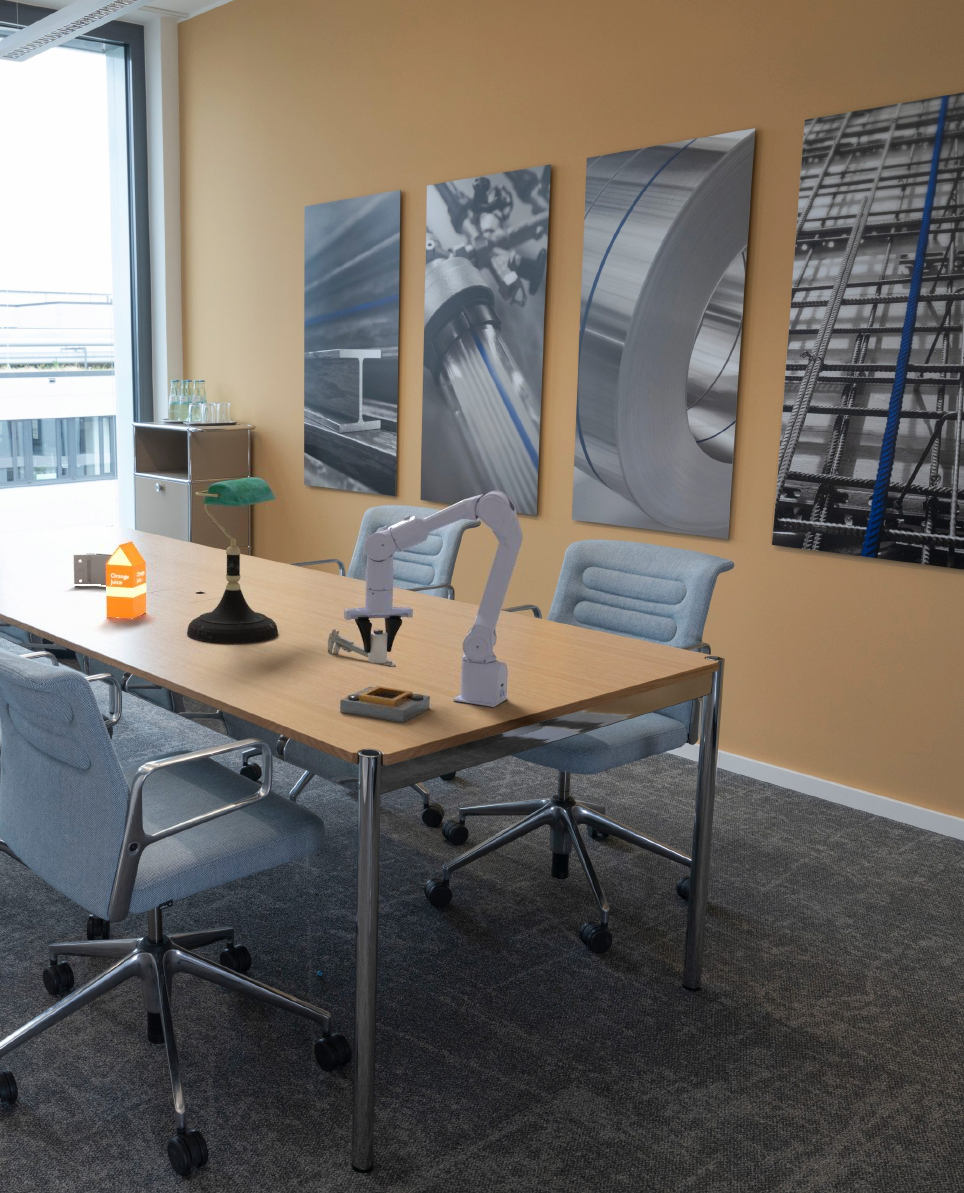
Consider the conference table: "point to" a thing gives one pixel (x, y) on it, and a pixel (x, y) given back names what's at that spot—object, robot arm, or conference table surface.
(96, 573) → the hinge
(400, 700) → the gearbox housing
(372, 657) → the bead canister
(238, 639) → the banker's lamp
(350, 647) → the caliper
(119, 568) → the orange juice
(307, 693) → the conference table surface
